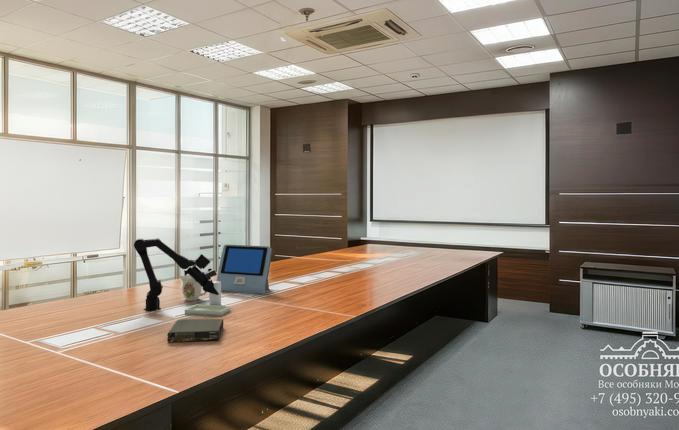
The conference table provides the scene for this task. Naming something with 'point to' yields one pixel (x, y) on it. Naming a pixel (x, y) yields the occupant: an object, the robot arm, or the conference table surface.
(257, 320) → the conference table surface
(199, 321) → the network switch
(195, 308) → the tray
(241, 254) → the touchscreen device
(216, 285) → the white rounded capsule
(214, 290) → the robot arm
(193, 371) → the conference table surface
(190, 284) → the pitcher
